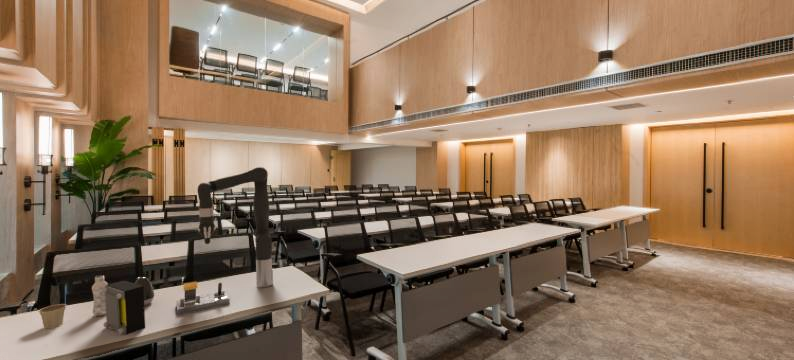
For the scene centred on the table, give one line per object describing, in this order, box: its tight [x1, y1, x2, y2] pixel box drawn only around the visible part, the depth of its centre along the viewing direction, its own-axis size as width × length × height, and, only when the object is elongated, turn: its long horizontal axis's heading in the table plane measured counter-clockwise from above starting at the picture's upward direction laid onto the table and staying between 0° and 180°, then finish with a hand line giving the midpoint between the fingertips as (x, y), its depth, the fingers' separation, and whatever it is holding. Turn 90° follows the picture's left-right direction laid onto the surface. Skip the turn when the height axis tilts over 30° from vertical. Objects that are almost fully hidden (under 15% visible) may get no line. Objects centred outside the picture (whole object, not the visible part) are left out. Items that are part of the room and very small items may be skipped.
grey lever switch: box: [175, 282, 231, 316], centre depth 184 cm, size 24×14×12 cm, turn 125°
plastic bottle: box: [91, 275, 109, 317], centre depth 172 cm, size 6×7×20 cm
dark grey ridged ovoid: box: [134, 276, 155, 306], centre depth 185 cm, size 10×10×15 cm
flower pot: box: [38, 303, 67, 329], centre depth 161 cm, size 9×9×9 cm
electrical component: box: [102, 280, 146, 336], centre depth 158 cm, size 18×10×20 cm, turn 62°
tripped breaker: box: [182, 281, 198, 302], centre depth 178 cm, size 6×3×13 cm
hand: (207, 243), depth 203 cm, fingers closed
